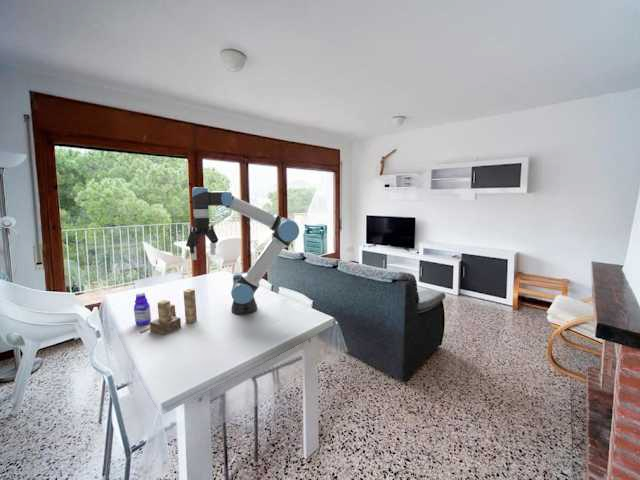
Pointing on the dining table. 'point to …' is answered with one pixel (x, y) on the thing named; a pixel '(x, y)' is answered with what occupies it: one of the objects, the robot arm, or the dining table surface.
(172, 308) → the peg short
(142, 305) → the bottle
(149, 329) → the strip
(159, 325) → the hole block
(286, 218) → the robot arm
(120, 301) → the dining table surface
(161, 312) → the peg medium
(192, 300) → the peg long
